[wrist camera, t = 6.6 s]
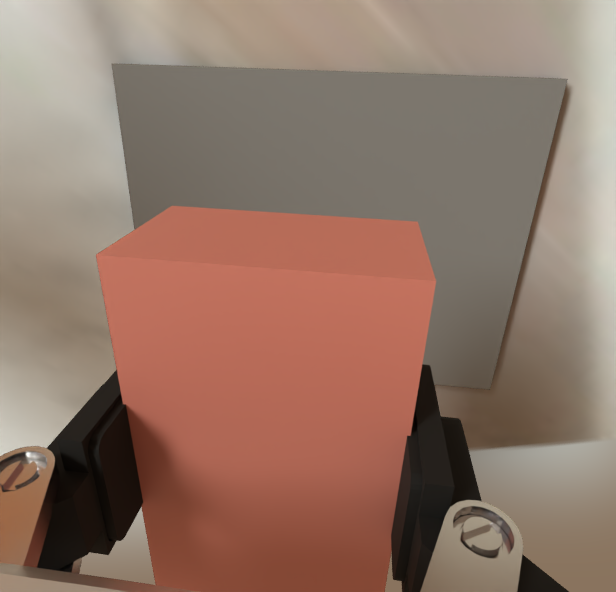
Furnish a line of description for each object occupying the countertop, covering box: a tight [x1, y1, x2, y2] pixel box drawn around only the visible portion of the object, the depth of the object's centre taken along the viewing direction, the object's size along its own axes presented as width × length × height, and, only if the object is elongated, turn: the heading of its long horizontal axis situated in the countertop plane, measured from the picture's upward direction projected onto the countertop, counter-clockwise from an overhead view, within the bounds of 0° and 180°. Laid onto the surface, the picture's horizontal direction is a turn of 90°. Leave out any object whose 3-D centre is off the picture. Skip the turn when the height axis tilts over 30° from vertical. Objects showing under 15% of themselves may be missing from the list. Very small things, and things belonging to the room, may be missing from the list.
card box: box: [96, 206, 436, 592], centre depth 12 cm, size 10×6×4 cm, turn 178°
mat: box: [112, 64, 567, 390], centre depth 24 cm, size 20×16×1 cm
